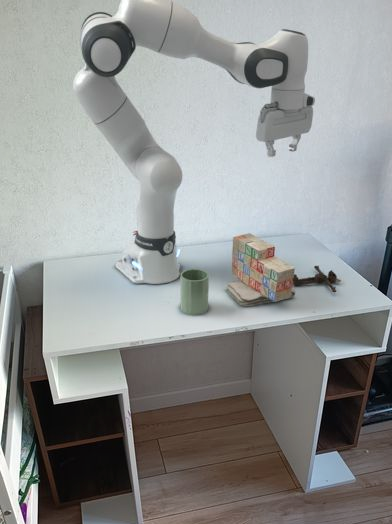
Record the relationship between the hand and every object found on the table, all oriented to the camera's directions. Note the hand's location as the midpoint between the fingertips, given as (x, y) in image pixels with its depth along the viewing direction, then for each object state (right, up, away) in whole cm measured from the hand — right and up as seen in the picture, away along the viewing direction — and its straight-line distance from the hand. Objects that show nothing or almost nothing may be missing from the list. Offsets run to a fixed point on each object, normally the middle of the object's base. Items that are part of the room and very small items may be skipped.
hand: (282, 153), depth 145 cm
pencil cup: (-25, -44, 0) cm, 51 cm away
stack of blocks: (-6, -37, +6) cm, 38 cm away
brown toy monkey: (+13, -35, +14) cm, 40 cm away
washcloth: (-6, -40, +7) cm, 41 cm away
